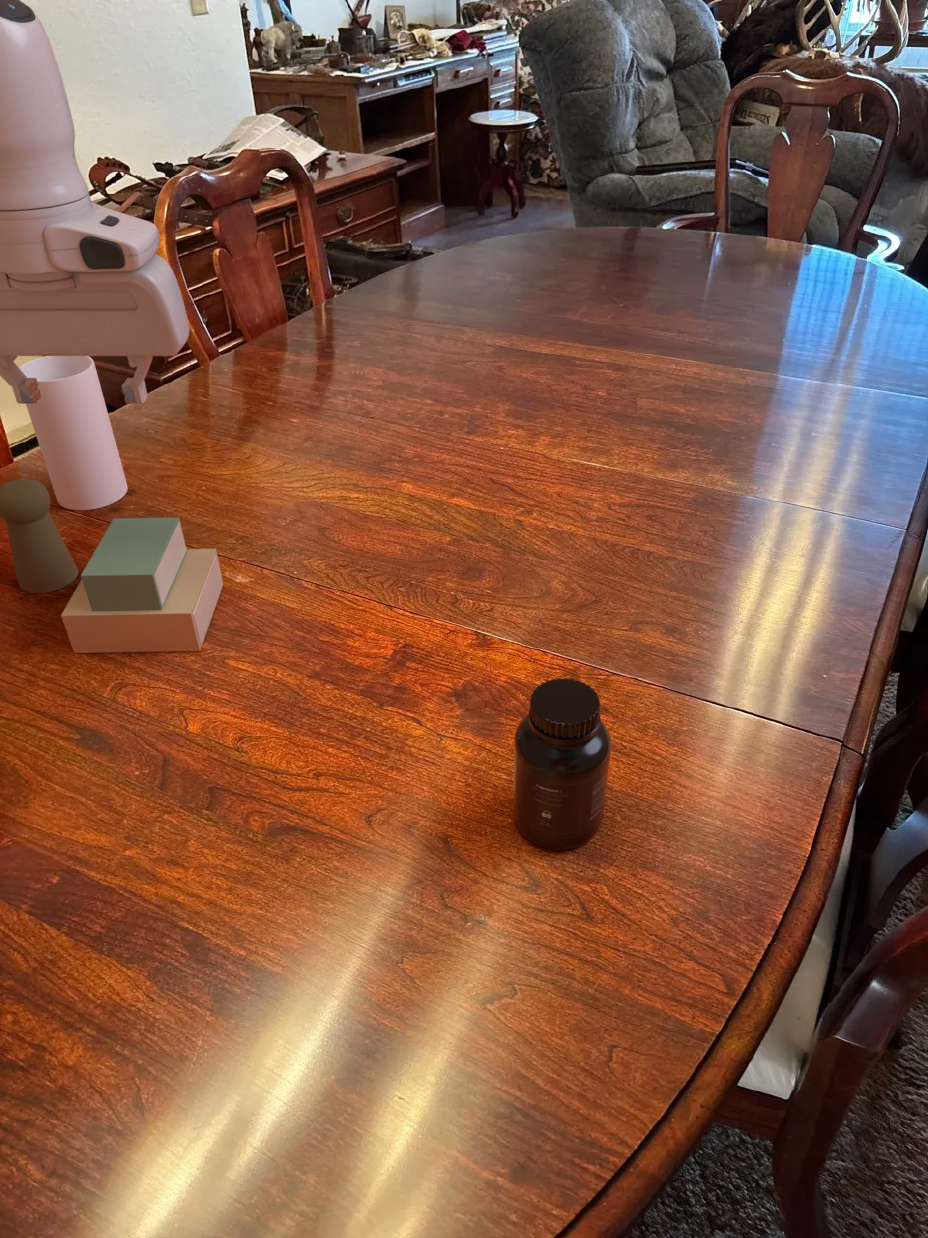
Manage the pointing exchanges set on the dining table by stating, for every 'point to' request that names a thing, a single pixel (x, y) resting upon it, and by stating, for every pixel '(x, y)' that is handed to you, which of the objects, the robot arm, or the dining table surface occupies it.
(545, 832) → the supplement bottle
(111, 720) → the dining table surface
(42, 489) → the olive pawn piece
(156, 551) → the sage green brick
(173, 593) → the tan flat block
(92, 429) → the cup
